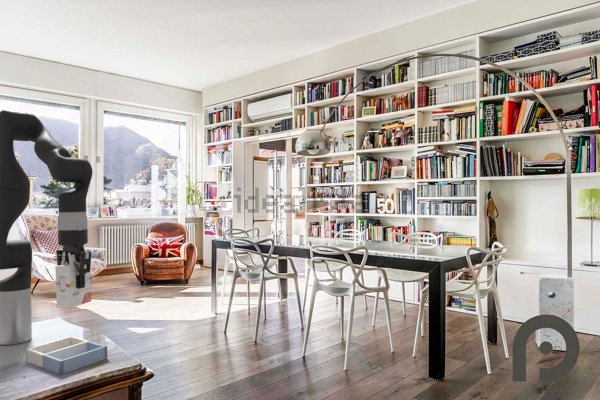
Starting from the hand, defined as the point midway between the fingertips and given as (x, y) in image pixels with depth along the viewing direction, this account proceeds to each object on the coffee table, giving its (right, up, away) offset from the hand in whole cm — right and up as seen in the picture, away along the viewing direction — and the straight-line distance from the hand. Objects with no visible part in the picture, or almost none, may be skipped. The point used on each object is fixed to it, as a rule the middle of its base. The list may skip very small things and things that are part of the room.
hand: (74, 286), depth 124 cm
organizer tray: (-3, -22, +3) cm, 22 cm away
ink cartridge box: (0, -5, 0) cm, 5 cm away
